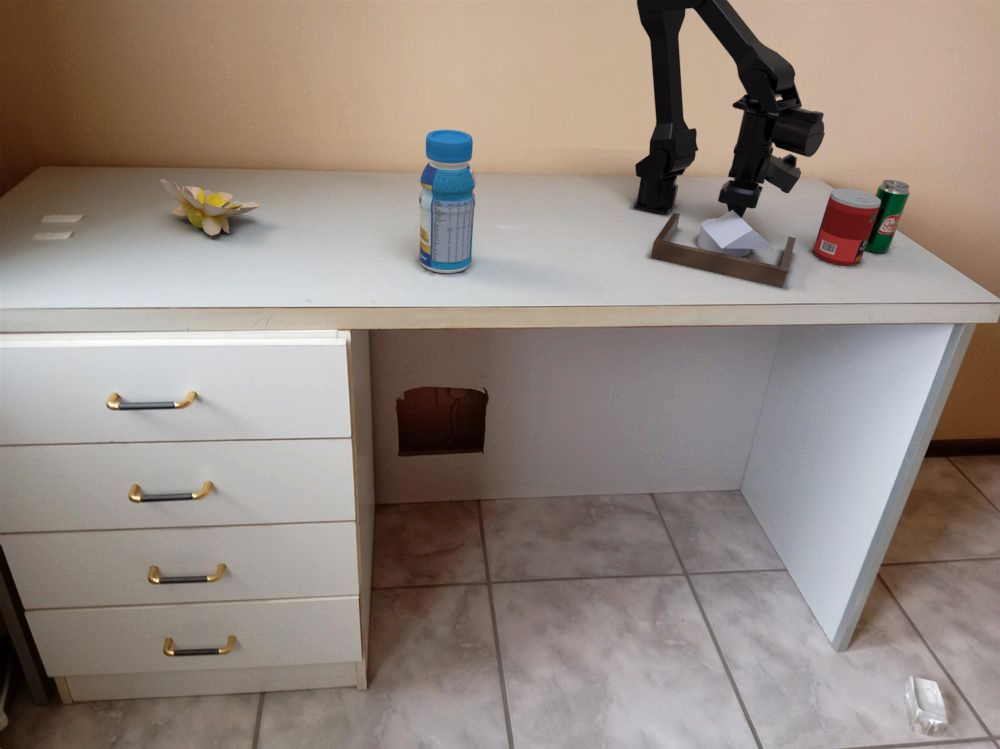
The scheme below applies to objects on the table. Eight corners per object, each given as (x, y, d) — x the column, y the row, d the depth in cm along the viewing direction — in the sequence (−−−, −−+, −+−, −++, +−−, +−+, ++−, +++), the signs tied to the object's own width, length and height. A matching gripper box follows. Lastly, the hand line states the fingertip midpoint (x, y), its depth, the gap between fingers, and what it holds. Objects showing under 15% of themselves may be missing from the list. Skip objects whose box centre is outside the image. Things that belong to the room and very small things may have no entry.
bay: (650, 258, 129) (653, 241, 128) (670, 228, 141) (673, 212, 140) (782, 287, 123) (787, 270, 122) (791, 253, 135) (796, 237, 134)
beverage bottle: (451, 280, 117) (456, 148, 106) (407, 264, 121) (407, 135, 110) (482, 262, 124) (490, 135, 113) (439, 247, 127) (442, 123, 116)
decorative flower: (275, 220, 127) (254, 163, 121) (216, 252, 122) (191, 194, 115) (229, 200, 136) (207, 146, 130) (171, 229, 130) (145, 174, 124)
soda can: (874, 255, 137) (898, 190, 131) (852, 244, 141) (874, 180, 134) (894, 252, 139) (918, 187, 133) (871, 241, 143) (893, 177, 136)
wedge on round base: (768, 267, 130) (737, 236, 140) (778, 229, 126) (746, 200, 137) (717, 267, 128) (690, 235, 139) (726, 229, 125) (698, 199, 135)
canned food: (864, 269, 132) (886, 207, 126) (815, 262, 133) (834, 200, 127) (855, 251, 138) (876, 192, 132) (809, 245, 139) (827, 185, 133)
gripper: (800, 165, 121) (775, 256, 130) (808, 133, 135) (785, 217, 144) (728, 153, 124) (708, 243, 133) (743, 123, 139) (725, 205, 147)
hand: (734, 226), depth 139 cm, fingers closed
